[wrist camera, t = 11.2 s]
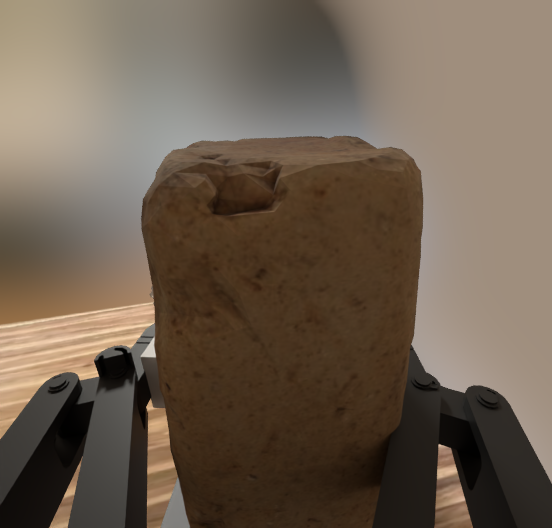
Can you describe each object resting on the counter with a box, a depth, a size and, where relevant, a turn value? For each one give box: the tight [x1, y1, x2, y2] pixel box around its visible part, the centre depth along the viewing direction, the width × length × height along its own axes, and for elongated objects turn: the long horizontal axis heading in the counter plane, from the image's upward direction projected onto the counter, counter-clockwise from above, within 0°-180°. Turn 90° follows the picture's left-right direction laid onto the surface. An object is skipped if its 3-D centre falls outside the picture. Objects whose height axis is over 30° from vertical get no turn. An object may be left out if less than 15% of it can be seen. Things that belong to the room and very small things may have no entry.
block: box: [141, 136, 423, 528], centre depth 14 cm, size 11×8×20 cm
